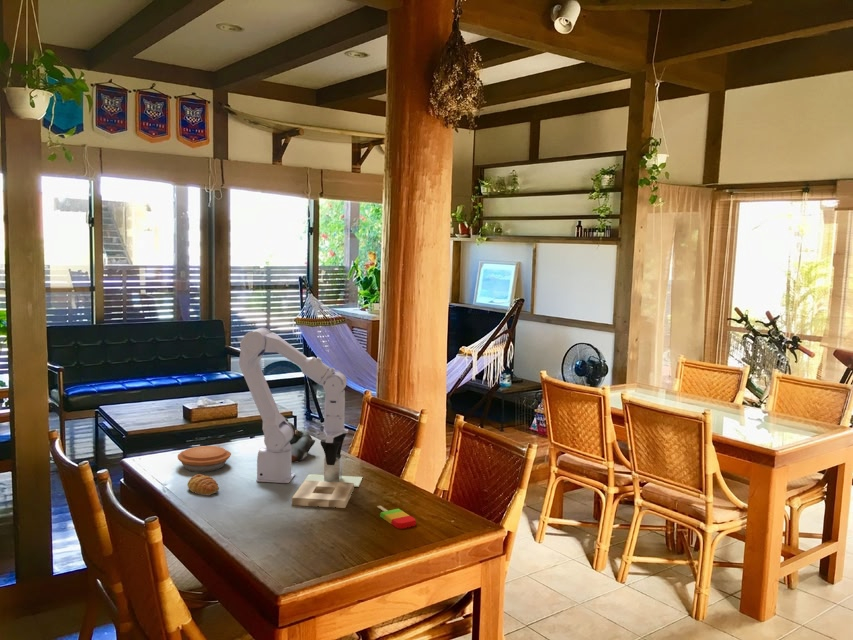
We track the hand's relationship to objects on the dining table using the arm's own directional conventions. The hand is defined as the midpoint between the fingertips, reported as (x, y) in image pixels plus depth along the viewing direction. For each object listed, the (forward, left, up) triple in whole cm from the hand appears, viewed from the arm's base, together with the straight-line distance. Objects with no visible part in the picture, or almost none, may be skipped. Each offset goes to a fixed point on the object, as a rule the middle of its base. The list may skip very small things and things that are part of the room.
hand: (333, 460), depth 205 cm
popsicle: (+20, -24, -7) cm, 32 cm away
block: (0, 0, -6) cm, 6 cm away
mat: (0, 0, -6) cm, 6 cm away
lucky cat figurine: (-18, +22, -7) cm, 29 cm away
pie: (-41, +8, -7) cm, 42 cm away
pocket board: (0, -13, -6) cm, 14 cm away
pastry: (-33, -12, -7) cm, 36 cm away
